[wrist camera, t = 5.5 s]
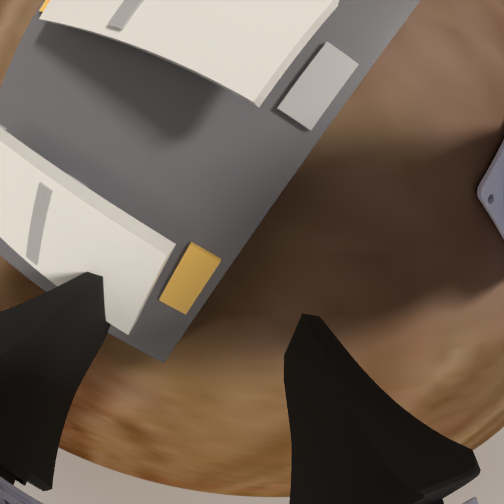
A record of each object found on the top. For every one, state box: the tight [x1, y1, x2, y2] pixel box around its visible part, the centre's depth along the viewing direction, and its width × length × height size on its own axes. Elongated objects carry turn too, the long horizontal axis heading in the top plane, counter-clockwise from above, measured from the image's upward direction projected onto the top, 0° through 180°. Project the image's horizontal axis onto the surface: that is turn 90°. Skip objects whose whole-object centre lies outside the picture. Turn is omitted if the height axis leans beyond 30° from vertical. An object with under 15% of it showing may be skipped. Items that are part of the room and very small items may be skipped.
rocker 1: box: [0, 127, 176, 335], centre depth 8 cm, size 9×4×1 cm, turn 57°
